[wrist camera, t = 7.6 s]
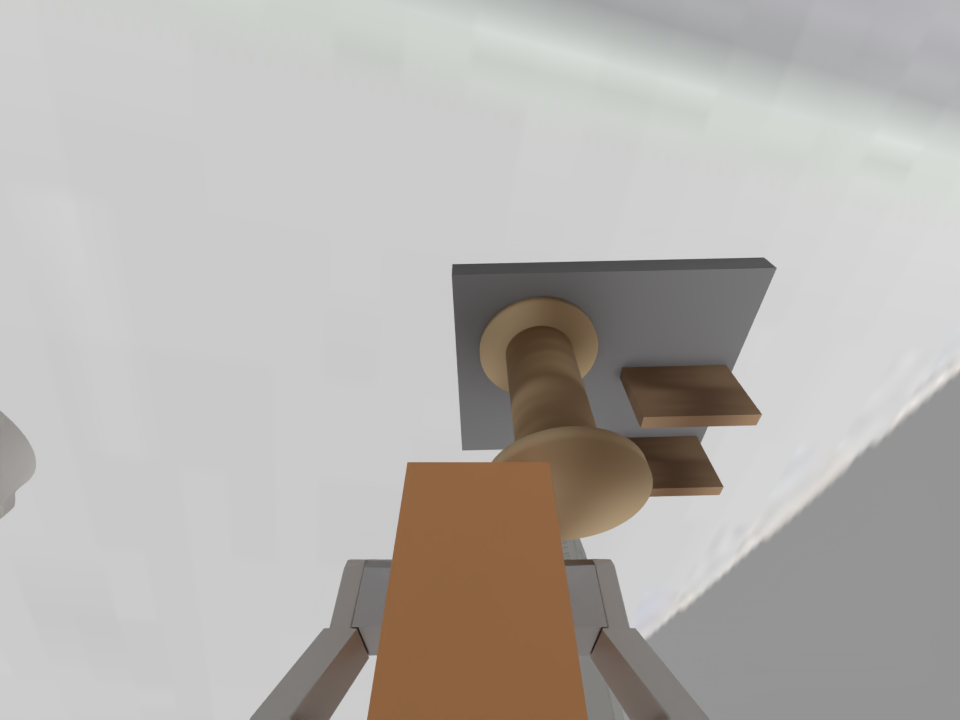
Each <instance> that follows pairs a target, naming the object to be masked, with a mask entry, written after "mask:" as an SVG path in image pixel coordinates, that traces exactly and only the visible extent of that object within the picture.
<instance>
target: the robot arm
mask: <svg viewBox="0 0 960 720" xmlns="http://www.w3.org/2000/svg"><path fill="white" fill-rule="evenodd" d="M35 469H36V458H35V454H34V451H33V449H32V447H31V445H30V443H29V441H28V440H27V438H26V437H25V435H24V434H23V433H22V432H21V430H20V429H19V428H18V427H17V426H16V425H15V424H14V423H13V422H12V421H11V420H10V419H9V418H8V417H7V416H6V415H5V414H4V413H2V412H1V411H0V519H1V518H3V517H4V516H5V515H6V514H7V513H8V512H9V511H10V510H12V509H13V508H14V506H15V492H16V491H17V490H18V489H19V488H20V487H21V486H23V485H24V484H25V483H27V482H28V481H29V480H30V479H31V478H32V476H33V474H34V472H35ZM564 563H565V570H566V576H567V583H568V590H569V596H570V603H571V609H572V616H573V623H574V629H575V636H576V643H577V649H578V655H587V656H591V657H590V658H591V659H592V661H593V663H594V664H595V666H596V667H597V669H598V670H599V672H600V674H601V675H602V677H603V678H604V680H605V681H606V683H607V685H608V686H609V688H610V689H611V691H612V692H613V694H614V695H615V697H616V699H617V700H618V702H619V703H620V705H621V706H622V708H623V710H624V711H625V713H626V714H627V716H628V717H629V719H630V720H710V719H709V718H708V717H707V715H706V714H705V713H704V712H703V711H702V709H701V708H700V707H699V706H698V704H697V703H696V702H695V701H694V699H693V698H692V697H691V696H690V695H689V693H688V692H687V691H686V690H685V688H684V687H683V686H682V685H681V684H680V682H679V681H678V680H677V679H676V677H675V676H674V675H673V674H672V672H671V671H670V670H669V669H668V668H667V666H666V665H665V664H664V663H663V661H662V660H661V659H660V658H659V656H658V655H657V654H656V653H655V652H654V650H653V649H652V648H651V647H650V645H649V644H648V643H647V642H646V641H645V639H644V638H643V637H642V636H641V634H640V633H639V632H638V631H637V629H636V628H630V626H629V622H628V618H627V614H626V610H625V606H624V602H623V598H622V594H621V590H620V586H619V581H618V577H617V573H616V569H615V565H614V564H613V562H612V561H611V559H577V560H564ZM391 564H392V559H369V560H368V559H350V560H347V563H346V565H345V567H344V570H343V574H342V578H341V582H340V586H339V591H338V595H337V599H336V603H335V607H334V611H333V615H332V619H331V623H330V628H324V629H323V630H322V631H321V632H320V634H319V635H318V636H317V637H316V638H315V640H314V641H313V642H312V643H311V644H310V646H309V647H308V648H307V649H306V651H305V652H304V653H303V654H302V655H301V657H300V658H299V659H298V660H297V662H296V663H295V664H294V665H293V666H292V668H291V669H290V670H289V671H288V673H287V674H286V675H285V676H284V677H283V679H282V680H281V681H280V682H279V684H278V685H277V686H276V687H275V688H274V690H273V691H272V692H271V693H270V695H269V696H268V697H267V698H266V699H265V701H264V702H263V703H262V704H261V706H260V707H259V708H258V709H257V710H256V712H255V713H254V714H253V715H252V716H251V718H250V720H330V718H331V716H332V715H333V713H334V712H335V710H336V709H337V707H338V706H339V704H340V702H341V701H342V699H343V698H344V696H345V695H346V693H347V692H348V690H349V688H350V687H351V685H352V684H353V682H354V681H355V679H356V678H357V676H358V675H359V673H360V671H361V670H362V668H363V667H364V665H365V664H366V662H367V661H368V659H369V656H372V655H377V653H378V646H379V640H380V634H381V627H382V621H383V614H384V608H385V602H386V595H387V589H388V583H389V576H390V570H391Z"/></svg>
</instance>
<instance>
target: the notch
mask: <svg viewBox="0 0 960 720" xmlns="http://www.w3.org/2000/svg"><path fill="white" fill-rule="evenodd" d="M620 380H621V382H622V384H623V387H624V389H625V392H626V394H627V397H628V399H629V401H630V404H631V406H632V409H633V411H634V414H635V416H636V419H637V421H638V423H639V426H640V428H668V427H711V426H753V425H757V423H758V421H759V419H760V417H761V416H762V414H761V412H760V411H759V409H758V408H757V407H756V405H755V404H754V403H753V401H752V400H751V398H750V397H749V396H748V394H747V393H746V392H745V390H744V389H743V387H742V386H741V385H740V383H739V382H738V381H737V379H736V378H735V376H734V375H733V374H732V372H731V371H730V370H729V368H728V367H727V365H703V366H660V367H622V371H621V375H620ZM628 439H629V440H631V441H632V442H634V443H635V444H636V445H637V446H638V447H639V448H640V450H641V451H642V452H643V454H644V456H645V458H646V461H647V463H648V466H649V468H650V471H651V473H652V478H653V487H652V491H651V494H650V496H649V497H660V496H701V495H720V493H721V491H722V489H723V487H724V486H723V485H722V483H721V481H720V479H719V477H718V475H717V473H716V472H715V470H714V468H713V466H712V464H711V462H710V460H709V458H708V457H707V455H706V453H705V451H704V449H703V447H702V445H701V444H700V442H699V440H698V438H697V436H672V437H630V438H628Z"/></svg>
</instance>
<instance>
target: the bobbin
mask: <svg viewBox="0 0 960 720" xmlns="http://www.w3.org/2000/svg"><path fill="white" fill-rule="evenodd" d="M597 353H598V338H597V334H596V331H595V329H594V326H593V324H592V322H591V320H590V318H589V317H588V315H587V314H586V313H585V312H584V311H583V310H582V309H580V308H579V307H578V306H576V305H575V304H573V303H571V302H569V301H566V300H564V299H560V298H556V297H548V296H539V297H530V298H525V299H522V300H519V301H516V302H514V303H512V304H509V305H508V306H506V307H504V308H503V309H501V310H500V311H499V312H498V313H496V314H495V315H494V316H493V317H492V318H491V320H490V321H489V322H488V323H487V325H486V327H485V329H484V330H483V333H482V336H481V340H480V361H481V365H482V368H483V370H484V372H485V374H486V375H487V377H488V378H489V379H490V380H491V381H492V382H493V383H494V384H495V385H496V386H498V387H499V388H501V389H503V390H505V391H507V392H509V393H510V403H511V413H512V422H513V432H514V441H515V442H514V443H512V444H510V445H509V446H507V447H506V448H505V449H504V450H502V451H501V452H500V453H499V454H498V455H497V456H496V457H495V458H494V459H493V461H492V462H549V464H550V470H551V477H552V484H553V490H554V497H555V504H556V510H557V517H558V523H559V530H560V537H561V540H572V539H580V538H585V537H589V536H593V535H597V534H600V533H603V532H606V531H608V530H610V529H613V528H615V527H617V526H619V525H621V524H622V523H624V522H626V521H627V520H629V519H630V518H632V517H633V516H634V515H635V514H636V513H638V512H639V510H640V509H641V508H642V507H643V506H644V505H645V503H646V502H647V500H648V498H649V496H650V494H651V491H652V487H653V478H652V473H651V471H650V468H649V466H648V463H647V461H646V458H645V456H644V454H643V452H642V451H641V450H640V448H639V447H638V446H637V445H636V444H635V443H634V442H632V441H631V440H629V439H628V438H626V437H624V436H622V435H620V434H618V433H616V432H613V431H610V430H606V429H602V428H597V427H596V423H595V420H594V417H593V414H592V410H591V407H590V404H589V400H588V397H587V394H586V391H585V387H584V384H583V381H582V378H583V377H584V376H585V375H586V374H587V373H588V372H589V370H590V369H591V367H592V366H593V364H594V362H595V359H596V356H597Z"/></svg>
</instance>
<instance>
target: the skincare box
mask: <svg viewBox="0 0 960 720" xmlns="http://www.w3.org/2000/svg"><path fill="white" fill-rule="evenodd" d="M561 543H562V550H563V557H564V560H577V559H587V557H586V554H585V551H584V548H583V546H582V543H581V541H580V539H572V540H561ZM578 656H579V662H580V669H581V676H582V682H583V689H584V696H585V702H586V709H587V715H588V720H625V719H624V715H623V711H622V707H621V705H620V703H619V702H618V700H617V699H616V697H615V695H614V694H613V692H612V691H611V689H610V688H609V686H608V685H607V683H606V681H605V680H604V678H603V677H602V675H601V674H600V672H599V670H598V669H597V667H596V666H595V664H594V663H593V661H592V659H591V658H590V657H591V656H587V655H578Z"/></svg>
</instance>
